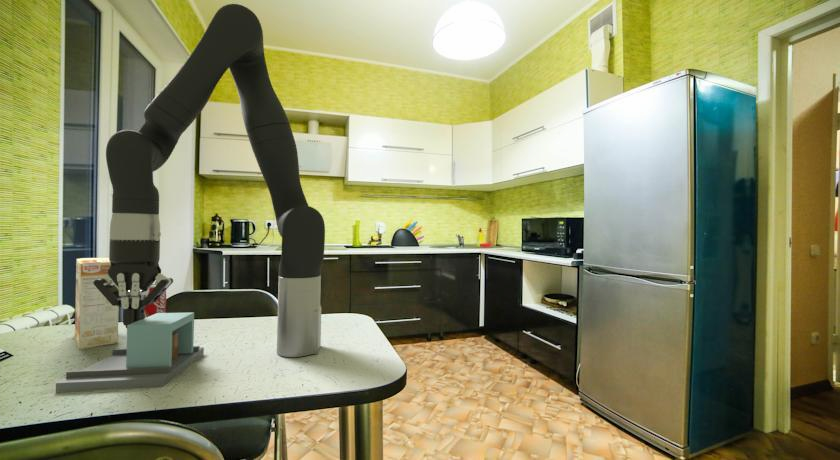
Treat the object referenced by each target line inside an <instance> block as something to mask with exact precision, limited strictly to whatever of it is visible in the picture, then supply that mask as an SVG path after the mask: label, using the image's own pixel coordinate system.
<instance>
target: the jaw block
mask: <svg viewBox="0 0 840 460" xmlns="http://www.w3.org/2000/svg"><path fill="white" fill-rule="evenodd" d="M177 357H178V332H175V333H172V361H173V360H174V359H176V358H177Z"/></svg>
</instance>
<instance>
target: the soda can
mask: <svg viewBox="0 0 840 460" xmlns="http://www.w3.org/2000/svg"><path fill="white" fill-rule="evenodd" d="M155 286H156V285H155V283H153V284H152V285H151V286H150V288H149V293H150V292H151V291H152V290H153V289H154V287H155ZM149 293H148V294H149ZM156 313H167V290H166V291H165V292H164V293H163V294H162V295H161V296H160V297H159V299H158V300H157V301H156V302H155V303H151V304H149V305H146V306H145V308H144V318H146V317H149V316H151V315H154V314H156Z"/></svg>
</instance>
